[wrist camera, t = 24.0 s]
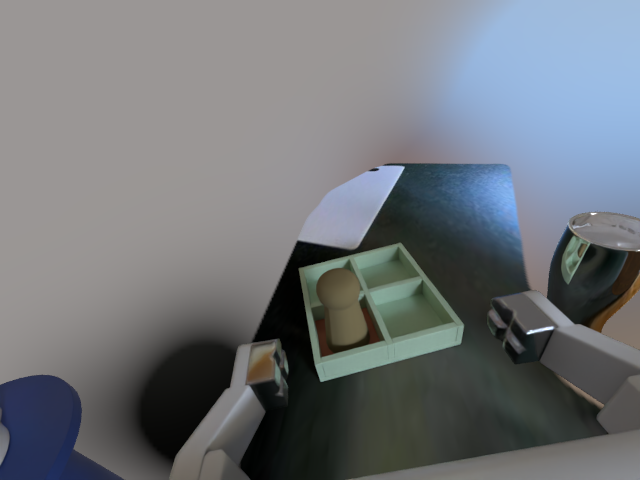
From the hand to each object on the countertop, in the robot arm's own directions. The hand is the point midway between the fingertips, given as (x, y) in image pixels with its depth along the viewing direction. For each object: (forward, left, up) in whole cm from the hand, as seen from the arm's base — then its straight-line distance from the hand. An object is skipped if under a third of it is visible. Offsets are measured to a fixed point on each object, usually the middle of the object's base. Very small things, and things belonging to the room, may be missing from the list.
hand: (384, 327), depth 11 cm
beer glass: (+26, +11, -24) cm, 37 cm away
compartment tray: (+4, +22, -24) cm, 33 cm away
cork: (0, +17, -23) cm, 29 cm away
